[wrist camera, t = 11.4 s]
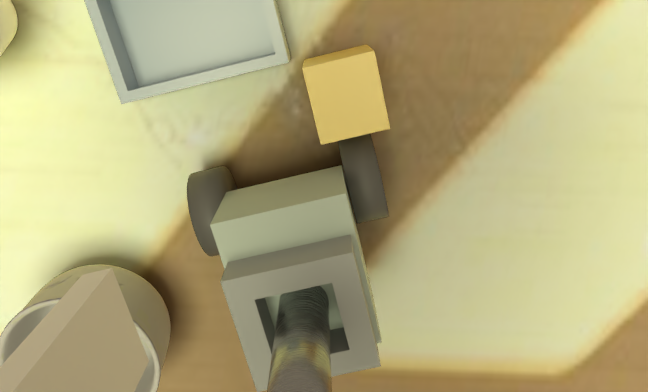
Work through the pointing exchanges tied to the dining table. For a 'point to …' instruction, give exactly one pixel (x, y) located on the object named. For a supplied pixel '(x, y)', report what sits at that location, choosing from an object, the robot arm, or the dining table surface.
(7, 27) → the mug
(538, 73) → the dining table surface
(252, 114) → the dining table surface
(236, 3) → the tray
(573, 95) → the dining table surface
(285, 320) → the flashlight
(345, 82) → the block
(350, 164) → the trolley
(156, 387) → the teacup
